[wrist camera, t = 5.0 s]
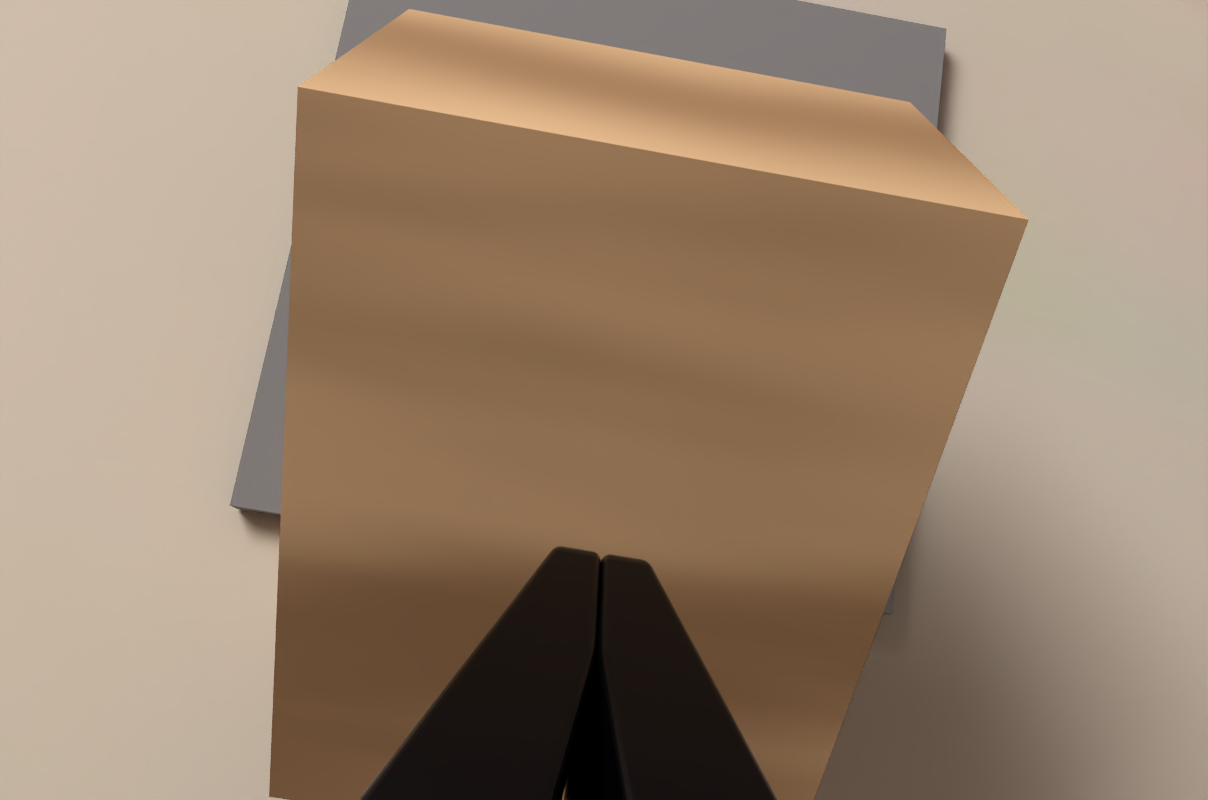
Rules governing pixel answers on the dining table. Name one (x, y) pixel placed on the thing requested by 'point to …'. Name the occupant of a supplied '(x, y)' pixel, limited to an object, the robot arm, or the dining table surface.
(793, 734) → the wooden block
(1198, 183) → the dining table surface
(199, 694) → the dining table surface
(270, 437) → the mat
